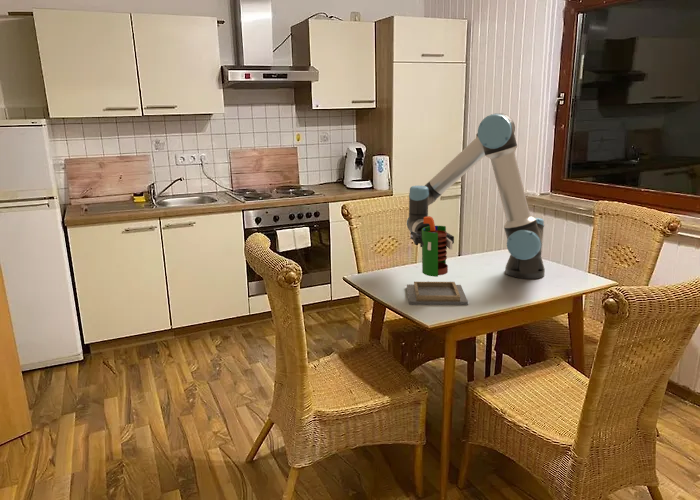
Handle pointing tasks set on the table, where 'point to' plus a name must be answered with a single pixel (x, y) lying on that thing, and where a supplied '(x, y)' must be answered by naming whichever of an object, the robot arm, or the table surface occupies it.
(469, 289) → the table surface
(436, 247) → the green cylindrical holder
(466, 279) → the table surface
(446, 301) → the plate
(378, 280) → the table surface
